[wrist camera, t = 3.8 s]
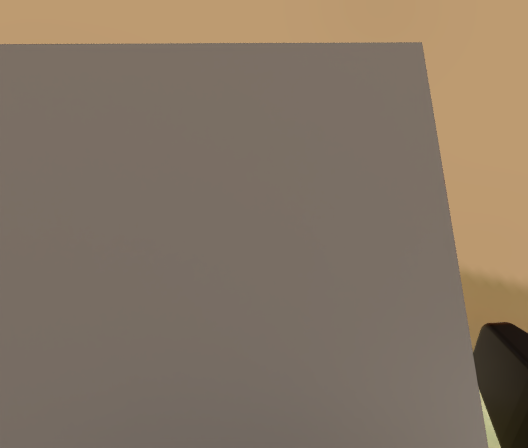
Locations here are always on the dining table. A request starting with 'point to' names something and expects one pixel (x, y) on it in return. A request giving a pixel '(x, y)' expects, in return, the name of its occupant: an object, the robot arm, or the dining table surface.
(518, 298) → the dining table surface
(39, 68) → the plug
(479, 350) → the robot arm
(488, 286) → the dining table surface
